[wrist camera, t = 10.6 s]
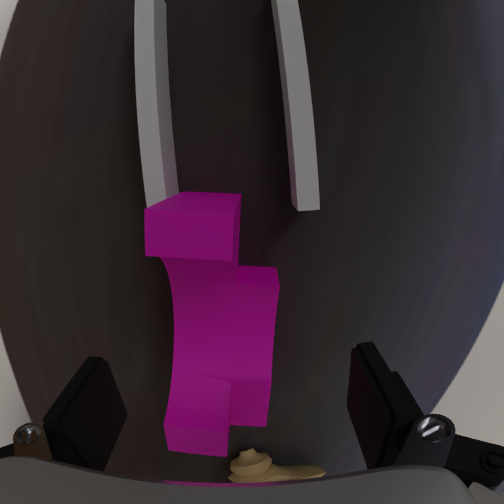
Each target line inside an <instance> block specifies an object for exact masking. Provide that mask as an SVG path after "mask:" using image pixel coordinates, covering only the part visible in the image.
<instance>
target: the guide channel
mask: <svg viewBox="0 0 504 504" xmlns="http://www.w3.org/2000/svg"><path fill="white" fill-rule="evenodd" d="M271 5H272V12H273V19H274V27H275V34H276V42H277V51H278V59H279V68H280V77H281V86H282V95H283V105H284V115H285V126H286V137H287V148H288V160H289V173H290V186H291V200H292V205H293V206H294V207H295V208H296V209H297V211H308V210H320V202H319V184H318V169H317V155H316V143H315V131H314V120H313V110H312V100H311V91H310V83H309V74H308V66H307V59H306V51H305V44H304V37H303V30H302V24H301V17H300V11H299V5H298V0H271ZM134 45H135V83H136V103H137V118H138V131H139V143H140V153H141V163H142V172H143V181H144V189H145V197H146V204H147V208H148V207H150V206H152V205H154V204H156V203H158V202H161V201H163V200H165V199H167V198H169V197H171V196H174V195H176V194H178V193H179V188H178V180H177V170H176V161H175V151H174V140H173V129H172V117H171V104H170V90H169V73H168V53H167V25H166V3H165V1H164V0H135V25H134Z"/></svg>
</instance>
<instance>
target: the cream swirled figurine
mask: <svg viewBox="0 0 504 504" xmlns="http://www.w3.org/2000/svg"><path fill="white" fill-rule="evenodd" d="M271 462H272V459H271V458H270V457H269V455H268V454H267V453H258V452H256V451H255V450H254V448H250V449H248V450H247V451H241V452H240V456H239V457H238V458H235V459H234V460H232V461H231V466H230V470H231V471H232V472H233V473H232V474H231V475H230V476H229V477H227V478H228V479H230V480H231V481H232V482H234V483H258V482H275V481H288V480H298V479H307V478H316V477H322V476H323V475H324V474H325V473H326V472H325V471H324V470H323V469H321V468H320V467H317V466H314V465H302V466H278V465H275V464H271Z"/></svg>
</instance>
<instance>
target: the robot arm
mask: <svg viewBox="0 0 504 504" xmlns="http://www.w3.org/2000/svg"><path fill="white" fill-rule="evenodd" d="M347 409H348V412H349V415H350V418H351V421H352V424H353V427H354V430H355V433H356V435H357V438H358V441H359V444H360V447H361V450H362V453H363V456H364V459H365V462H366V465H367V468H368V470H362V471H355V472H350V473H344V474H337V475H331V476H323V477H316V478H307V479H298V480H288V481H275V482H258V483H198V482H181V481H168V480H158V479H149V478H141V477H134V476H127V475H121V474H115V473H109V472H104V469H105V467H106V464H107V462H108V460H109V457H110V455H111V453H112V450H113V448H114V446H115V443H116V441H117V439H118V436H119V434H120V432H121V430H122V427H123V425H124V423H125V421H126V418H127V411H126V408H125V406H124V403H123V401H122V398H121V396H120V393H119V391H118V388H117V386H116V383H115V380H114V378H113V375H112V372H111V370H110V367H109V364H108V362H107V361H105V360H104V359H103V358H102V357H88V358H87V359H86V361H85V362H84V363H83V364H82V366H81V367H80V368H79V370H78V371H77V372H76V374H75V375H74V376H73V378H72V379H71V380H70V382H69V383H68V384H67V386H66V387H65V389H64V390H63V391H62V393H61V394H60V395H59V397H58V398H57V400H56V401H55V402H54V404H53V405H52V407H51V408H50V409H49V411H48V412H47V414H46V415H45V416H44V418H43V421H44V425H43V426H41V425H40V424H38V423H32V422H31V423H26V424H24V425H22V426H20V427H19V428H18V429H17V430H16V432H15V433H14V436H13V444H10V445H7V446H4V447H1V448H0V504H504V447H503V446H500V445H496V444H492V443H488V442H484V441H480V440H476V439H472V438H468V437H464V436H461V435H457V434H455V426H454V424H453V422H452V421H451V420H450V419H449V418H447V417H445V416H443V415H440V414H428V415H425V416H424V414H423V413H422V411H421V409H420V407H419V406H418V404H417V403H416V401H415V399H414V398H413V396H412V394H411V393H410V391H409V389H408V388H407V386H406V385H405V383H404V381H403V380H402V378H401V376H400V375H399V374H398V372H396V371H394V372H391V371H390V369H389V367H388V366H387V364H386V362H385V361H384V359H383V358H382V356H381V354H380V353H379V351H378V349H377V348H376V346H375V345H374V343H373V342H365V343H359V344H357V346H356V348H353V349H352V352H351V365H350V376H349V386H348V395H347Z"/></svg>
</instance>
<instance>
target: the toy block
mask: <svg viewBox="0 0 504 504" xmlns="http://www.w3.org/2000/svg"><path fill="white" fill-rule="evenodd" d="M241 196H242V194H233V193H211V192H180V193H178V194H176V195H174V196H171V197H169V198H167V199H165V200H163V201H161V202H158V203H156V204H154V205H152V206H150V207H148V208H146V209H144V220H145V256H156V257H160V259H161V260H162V261H163V263H164V265H165V267H166V269H167V273H168V276H169V280H170V285H171V291H172V299H173V310H174V354H173V369H172V379H171V387H170V395H169V401H168V406H167V412H166V416H165V420H164V429H165V435H166V440H167V445H168V450H170V451H177V452H185V453H192V454H201V455H211V456H223V457H227V451H228V440H229V428H230V425H241V426H266V421H267V413H268V406H269V398H270V390H271V376H272V357H273V342H274V330H275V320H276V310H277V302H278V295H279V289H280V285H279V280H278V275H277V269H276V267H260V266H242V265H238V256H239V235H240V215H241Z"/></svg>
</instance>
